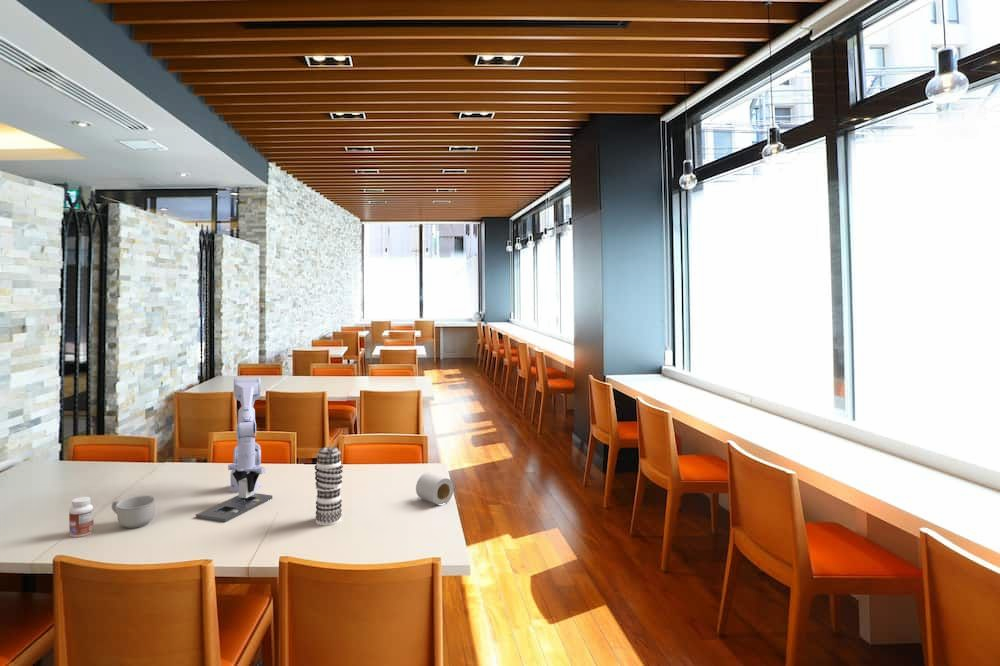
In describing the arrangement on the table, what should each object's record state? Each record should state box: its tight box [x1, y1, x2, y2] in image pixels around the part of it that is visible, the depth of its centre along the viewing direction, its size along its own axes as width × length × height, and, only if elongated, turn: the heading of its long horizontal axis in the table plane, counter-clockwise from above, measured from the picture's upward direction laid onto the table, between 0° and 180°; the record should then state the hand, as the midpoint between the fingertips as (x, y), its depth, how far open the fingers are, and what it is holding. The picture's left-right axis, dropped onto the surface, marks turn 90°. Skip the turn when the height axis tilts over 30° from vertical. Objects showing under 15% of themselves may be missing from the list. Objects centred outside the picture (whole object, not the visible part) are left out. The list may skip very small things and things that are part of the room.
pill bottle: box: [68, 496, 95, 538], centre depth 180 cm, size 6×6×11 cm
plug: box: [238, 478, 255, 498], centre depth 209 cm, size 3×4×7 cm
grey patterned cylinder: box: [314, 446, 344, 526], centre depth 194 cm, size 9×9×25 cm
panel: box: [195, 492, 273, 523], centre depth 204 cm, size 12×24×2 cm, turn 164°
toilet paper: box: [415, 472, 454, 506], centre depth 215 cm, size 10×10×10 cm
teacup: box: [111, 494, 156, 529], centre depth 188 cm, size 14×11×8 cm
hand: (246, 490), depth 209 cm, fingers closed on plug, 3 cm apart
